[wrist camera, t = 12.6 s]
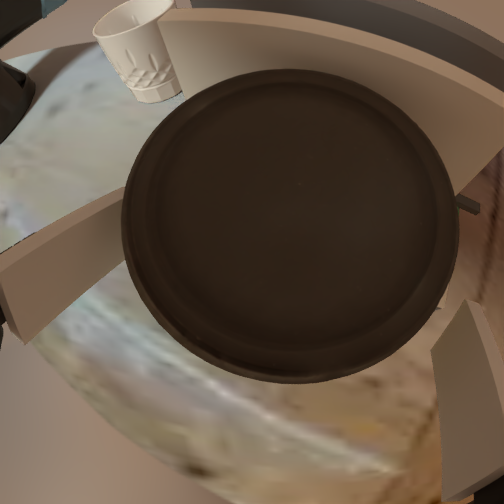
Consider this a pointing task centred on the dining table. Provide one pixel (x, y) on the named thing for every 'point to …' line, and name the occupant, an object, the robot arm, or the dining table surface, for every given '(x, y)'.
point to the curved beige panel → (345, 75)
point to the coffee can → (290, 226)
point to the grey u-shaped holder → (397, 32)
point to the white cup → (139, 48)
